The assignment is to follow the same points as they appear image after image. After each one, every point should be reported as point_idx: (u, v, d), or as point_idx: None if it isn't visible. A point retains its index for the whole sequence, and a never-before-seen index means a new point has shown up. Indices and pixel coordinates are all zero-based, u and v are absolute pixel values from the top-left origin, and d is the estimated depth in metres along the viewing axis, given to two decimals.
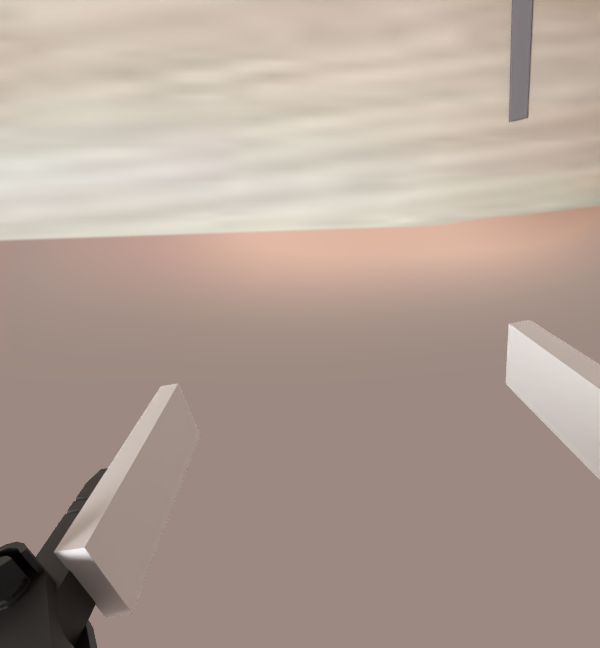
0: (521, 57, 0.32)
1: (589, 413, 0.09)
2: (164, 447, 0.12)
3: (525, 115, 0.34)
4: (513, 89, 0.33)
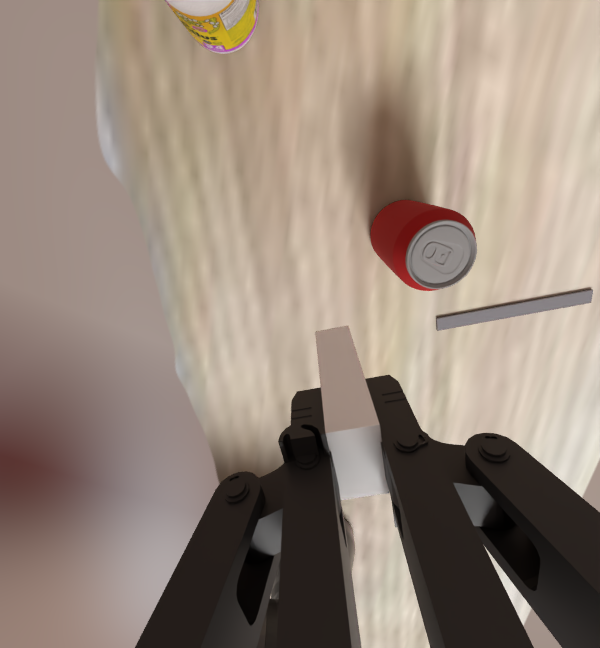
0: (547, 304, 0.40)
1: None
2: None
3: (591, 291, 0.40)
4: (567, 305, 0.40)
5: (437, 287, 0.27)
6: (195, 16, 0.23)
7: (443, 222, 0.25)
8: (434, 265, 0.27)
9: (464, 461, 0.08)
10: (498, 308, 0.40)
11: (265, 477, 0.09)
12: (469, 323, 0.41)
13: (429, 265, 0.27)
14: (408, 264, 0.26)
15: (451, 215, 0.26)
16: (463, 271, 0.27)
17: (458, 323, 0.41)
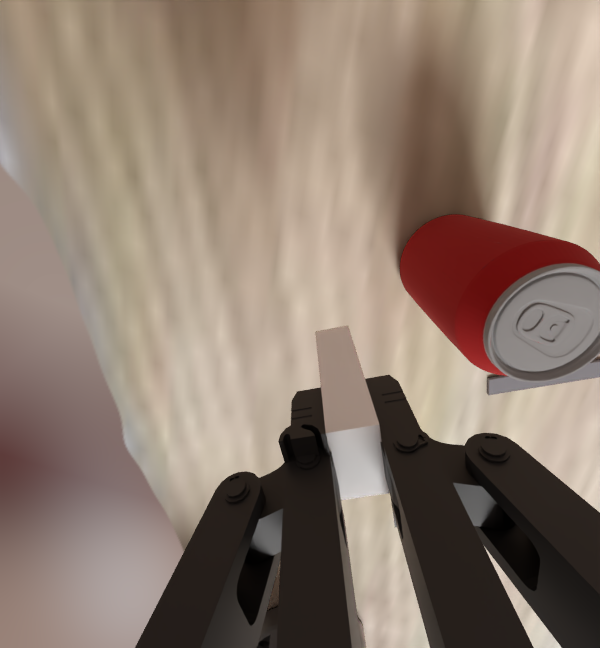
0: None
1: None
2: None
3: None
4: None
5: (537, 379, 0.15)
6: None
7: (566, 269, 0.13)
8: (536, 343, 0.15)
9: (464, 461, 0.08)
10: None
11: (265, 477, 0.09)
12: (534, 385, 0.29)
13: (527, 343, 0.15)
14: (490, 343, 0.14)
15: (574, 254, 0.14)
16: (586, 353, 0.15)
17: (519, 386, 0.29)
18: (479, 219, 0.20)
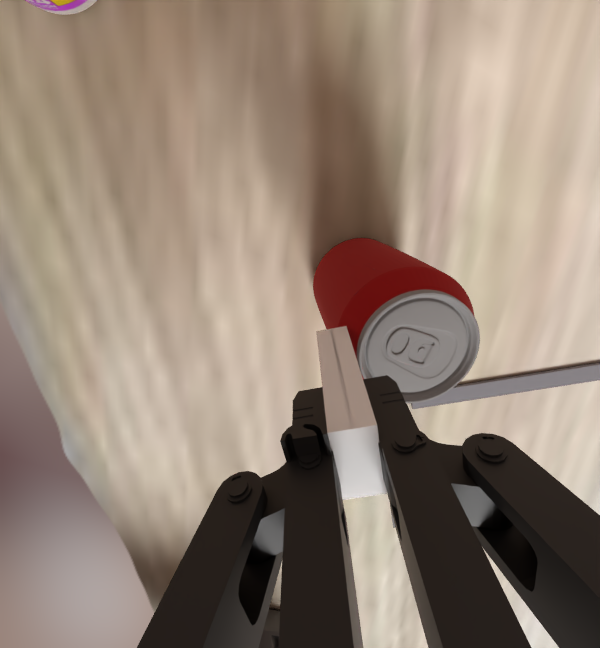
0: (563, 377, 0.29)
1: None
2: None
3: None
4: (592, 379, 0.29)
5: (414, 400, 0.16)
6: None
7: (421, 295, 0.14)
8: (407, 365, 0.15)
9: (461, 461, 0.08)
10: (496, 382, 0.29)
11: (267, 477, 0.09)
12: (456, 400, 0.30)
13: (398, 365, 0.15)
14: (362, 367, 0.15)
15: (433, 280, 0.14)
16: (456, 373, 0.15)
17: (441, 400, 0.30)
18: (375, 243, 0.21)
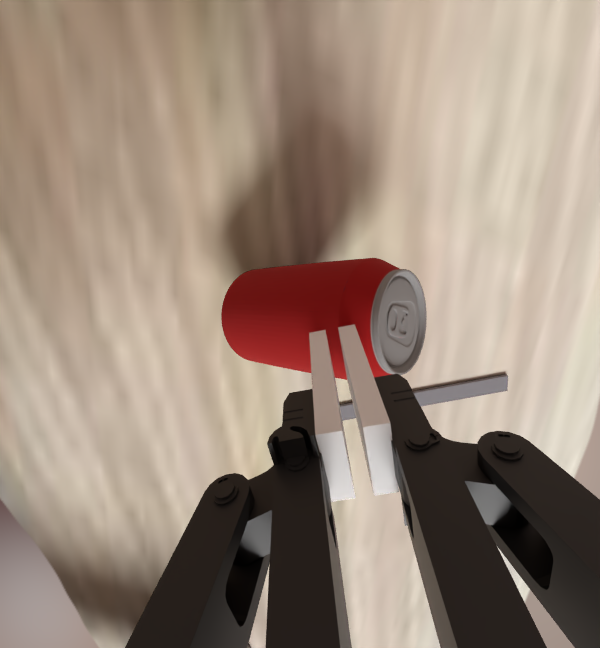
0: (451, 393, 0.31)
1: (354, 398, 0.12)
2: None
3: (505, 378, 0.30)
4: (477, 394, 0.31)
5: (408, 368, 0.18)
6: None
7: (398, 273, 0.16)
8: (398, 338, 0.17)
9: (476, 459, 0.08)
10: None
11: (255, 479, 0.09)
12: (354, 416, 0.32)
13: (395, 340, 0.17)
14: (381, 349, 0.15)
15: (389, 264, 0.18)
16: (418, 335, 0.19)
17: None
18: (284, 266, 0.22)
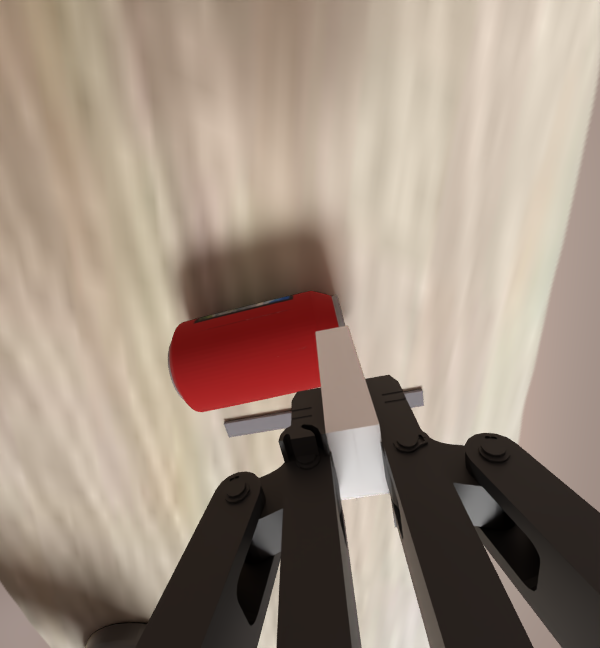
0: None
1: None
2: None
3: (420, 393, 0.30)
4: None
5: None
6: None
7: None
8: None
9: (464, 461, 0.08)
10: None
11: (265, 477, 0.09)
12: (268, 429, 0.31)
13: None
14: None
15: (326, 311, 0.21)
16: None
17: (254, 429, 0.31)
18: (215, 340, 0.21)
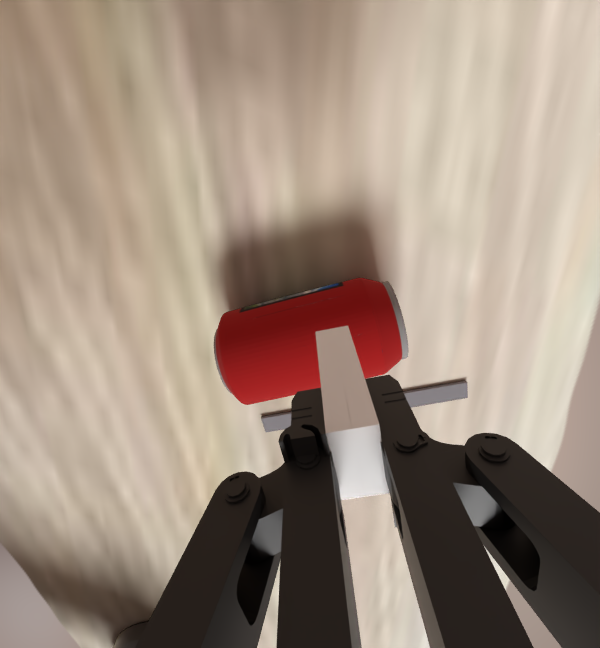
0: (407, 400, 0.29)
1: None
2: None
3: (464, 384, 0.29)
4: (436, 401, 0.29)
5: None
6: None
7: (399, 308, 0.20)
8: None
9: (464, 461, 0.08)
10: None
11: (265, 477, 0.09)
12: None
13: None
14: (405, 356, 0.22)
15: (380, 296, 0.20)
16: None
17: None
18: (265, 329, 0.21)
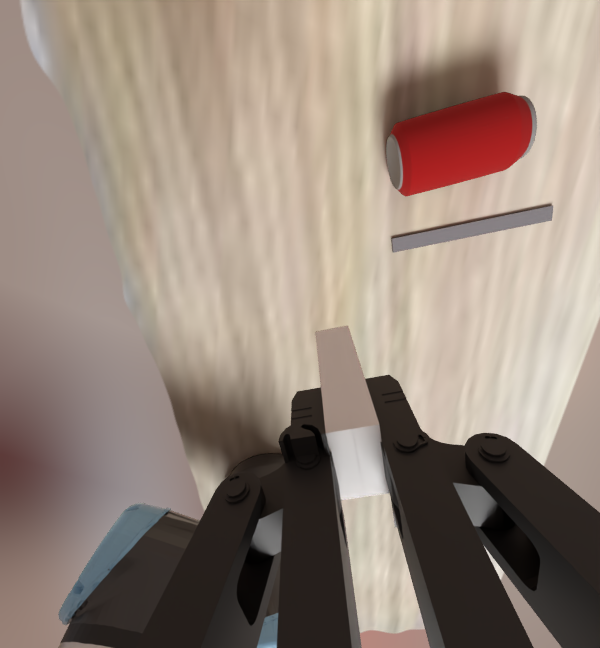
0: (505, 222, 0.39)
1: None
2: None
3: (551, 207, 0.38)
4: (527, 223, 0.39)
5: None
6: None
7: (532, 104, 0.30)
8: None
9: (464, 461, 0.08)
10: (455, 226, 0.39)
11: (265, 477, 0.09)
12: (426, 244, 0.40)
13: None
14: (527, 152, 0.32)
15: (518, 97, 0.30)
16: None
17: (414, 244, 0.40)
18: (438, 119, 0.30)
